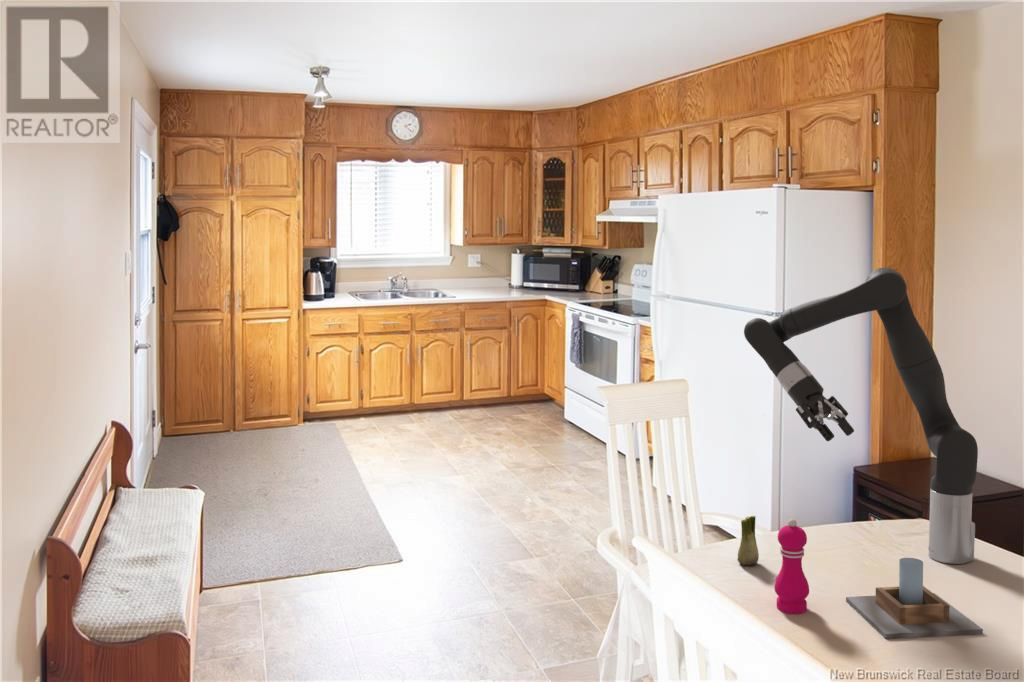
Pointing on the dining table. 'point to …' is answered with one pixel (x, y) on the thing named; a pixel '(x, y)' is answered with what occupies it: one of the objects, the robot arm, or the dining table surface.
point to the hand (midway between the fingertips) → (841, 436)
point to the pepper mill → (792, 570)
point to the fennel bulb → (748, 543)
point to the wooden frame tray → (912, 615)
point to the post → (910, 581)
